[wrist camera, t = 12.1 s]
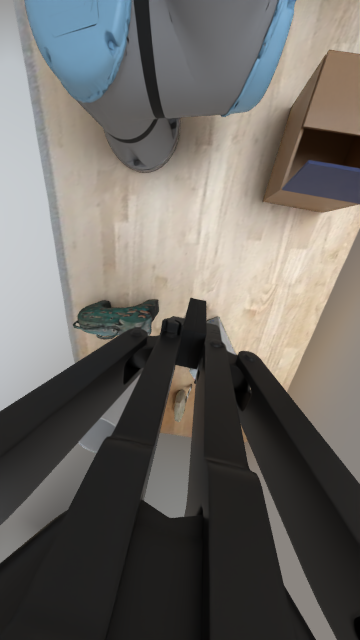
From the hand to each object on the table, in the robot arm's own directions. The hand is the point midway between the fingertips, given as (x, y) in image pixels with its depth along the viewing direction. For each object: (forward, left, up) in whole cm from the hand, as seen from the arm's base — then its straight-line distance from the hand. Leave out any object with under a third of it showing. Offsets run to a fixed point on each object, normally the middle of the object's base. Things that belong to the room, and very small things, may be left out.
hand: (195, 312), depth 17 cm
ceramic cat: (-2, -23, -33) cm, 40 cm away
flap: (0, +23, -18) cm, 29 cm away
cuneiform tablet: (+34, -29, -33) cm, 55 cm away
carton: (-5, +28, -32) cm, 43 cm away
